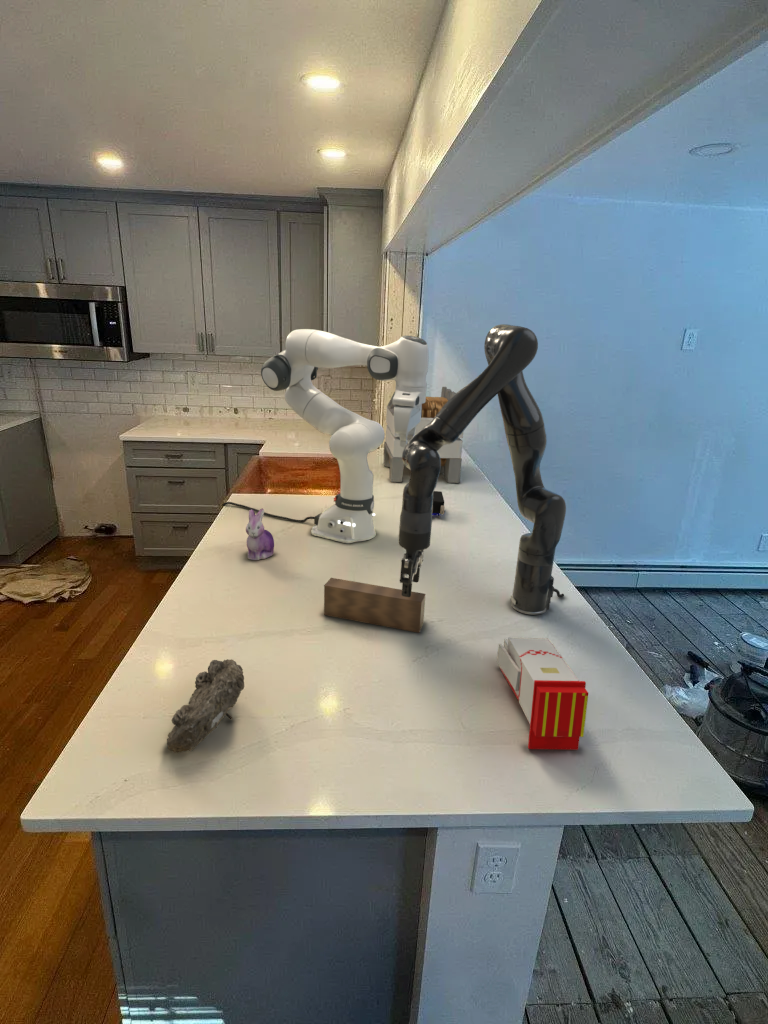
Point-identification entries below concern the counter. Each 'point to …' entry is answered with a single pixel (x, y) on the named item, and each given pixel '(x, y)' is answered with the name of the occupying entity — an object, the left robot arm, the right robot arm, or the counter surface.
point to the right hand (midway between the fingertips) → (410, 588)
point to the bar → (374, 604)
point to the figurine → (258, 537)
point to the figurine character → (438, 503)
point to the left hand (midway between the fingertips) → (407, 443)
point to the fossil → (206, 705)
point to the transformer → (392, 448)
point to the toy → (545, 692)
